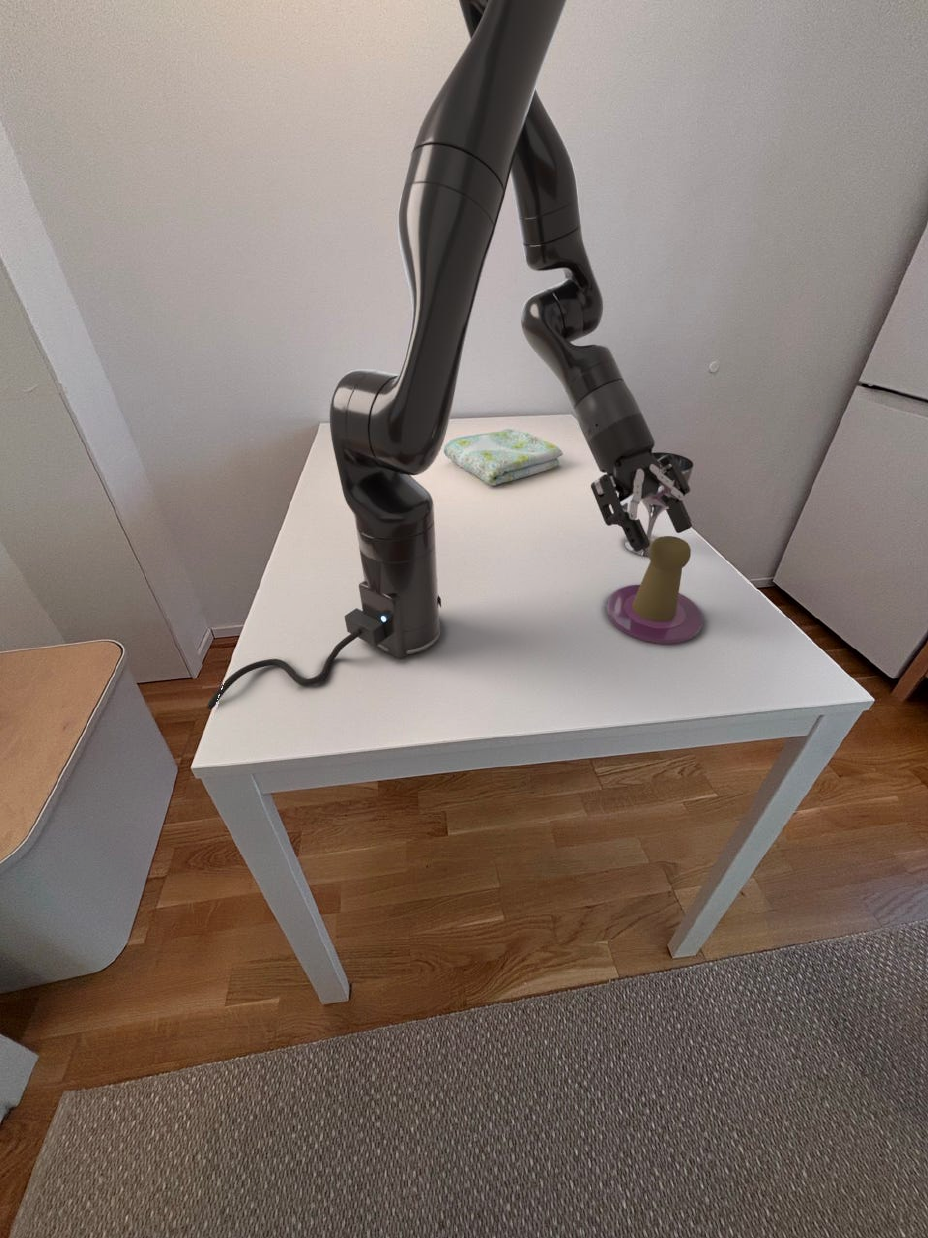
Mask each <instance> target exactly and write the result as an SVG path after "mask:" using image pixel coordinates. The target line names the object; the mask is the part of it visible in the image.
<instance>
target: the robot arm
mask: <svg viewBox="0 0 928 1238" xmlns="http://www.w3.org/2000/svg"><path fill="white" fill-rule="evenodd" d="M568 1H569V0H458V2H459V6H460V9H461V14H462V16H463V20H464V23H465V27H466V30H467V33H468V37H469V42H468V43H467V45H466V47H465V49H464V50H463V53H462V54H461V55H460V57H459V58H458V60H457V62H456V63H455V65H454V67H453V68H452V70H451V72H450V73H449V75H448V76H447V78H446V79H445V81H444V83H443V85H442V86H441V88H440V89H439V91H438V93H436V94H437V95H436V97H435V98H434V99H433V101H432V103H431V105H430V107H429V109H428V111H427V113H426V115H425V116H424V119H423V120H422V122H421V125H420V127H419V129H418V131H417V134H416V137H415V139H414V142H413V146H412V150H411V154H410V158H409V162H408V166H407V170H406V174H405V178H404V182H403V186H402V190H401V194H400V199H399V204H398V209H397V236H398V245H399V249H400V254H401V259H402V264H403V267H404V272H405V277H406V280H407V284H408V289H409V294H410V295H409V296H410V300H411V324H410V331H409V337H408V342H407V347H406V351H405V356H404V359H403V363H402V366H401V369H400V372H399V374H398V373H393V372H389V371H382V370H377V369H371V368H370V369H369V368H357V369H354V370H351V371H348V372H347V373H346V374H344V375H343V376H342V377H341V378H340V379H339V380H338V382H337V384H336V385H335V387H334V390H333V393H332V396H331V401H330V404H329V430H330V437H331V443H332V449H333V453H334V458H335V462H336V467H337V471H338V475H339V480H340V485H341V490H342V494H343V497H344V501H345V502H346V505H347V506H348V508H349V509H350V511H351V513H352V514H353V517H354V522H355V528H356V536H357V542H358V549H359V556H360V561H361V562H360V563H361V569H362V574H363V575H362V576H363V581H361V582H359V584H358V591H359V597H360V603H361V609H359V608H357V607H356V608H354V609H352V611H350V612H348V613H347V614H346V615H344V621H345V626H346V632H347V633H349V634H348V635H347V636H346V637H345V638H343V639H342V640H341V641H340V642H339V643H337V644H336V646H334V648H333V649H332V651H331V652H330V654H329V655H328V656H327V658H326V660H325V662H324V664H323V666H322V669H321V671H320V673H318V675H316V676H314V677H310V678H309V677H308V678H305V677H302V676H300V675H299V674H298V673H297V672H296V671H295V670H294V669H293V667H292V666H291V665H290V664H288V663H287V662H286V661H284V660H283V659H280V658H268V659H262V660H259V661H255V662H252V663H249V664H247V665H245V666H243V667H241V668H239V669H238V670H236V671H235V672H234V673H233V674H231V675H230V676H229V677H228V678H227V679H225V681H224V682H225V683H224V682H223V683H224V685H223V683H222V684H221V685H220V686H219V688H218V689H216V691H215V692H214V694H213V695H212V696H211V698H210V700H209V701H208V702H207V705H206V709H207V710H210V709H213V708H215V706H216V705H217V704H216V702H217V703H219V701H220V699H221V698H222V697H223V696H224V694H225V693H226V691H227V690H229V688H230V687H231V686H233V684H234V683H235V682H236V681H238V680H239V679H240V678H242V677H243V676H244V675H246V674H248V673H250V672H252V671H255V670H257V669H261V668H264V667H265V668H266V667H270V666H277V667H280V668H281V669H282V670H284V671H285V672H286V673H287V675H288V677H290V678H291V679H292V680H293V681H294V682H295V683H297V684H298V685H301V686H314V685H316V684H319V683H321V682H322V681H324V680H325V679H326V677H327V676H328V673H329V672H330V669H331V666H332V664H333V662H334V661H335V659H336V658H337V656H338V655H339V653H340V652H342V650H343V649H344V648H346V647H347V646H348V645H349V644H350V643H352V642H353V641H354V640H356V639H360V640H361V641H364V642H365V643H367V644H369V645H371V646H373V647H375V648H376V647H377V648H379V649H380V650H382V651H383V652H386V653H388V654H390V655H391V656H393V657H395V658H397V659H400V660H401V659H403V658H405V656H407V655H414V654H418V653H421V652H423V651H426V650H428V649H429V648H431V647H432V646H433V645H434V644H435V643H436V642H438V639H439V638H440V635H441V623H440V609H439V607H440V608H442V599H441V597H440V596H439V589H438V567H437V548H436V524H435V505H434V501H433V498H432V497H433V496H432V495H431V493H430V492H429V490H427V489H426V488H425V487H424V486H423V485H421V483H419V482H418V481H417V480H416V479H415V478H414V477H413V476H417V475H421V474H423V473H424V472H426V471H427V470H428V469H429V468H431V466H432V465H433V464H434V463H435V461H436V459H437V457H438V456H439V453H440V452H441V450H442V447H443V444H444V441H445V437H446V434H447V431H448V427H449V423H450V417H451V413H452V408H453V403H454V399H455V398H454V397H455V393H456V388H457V381H458V377H459V376H458V375H459V371H460V366H461V361H462V354H463V350H464V345H465V340H466V336H467V333H468V328H469V324H470V320H471V316H472V312H473V308H474V303H475V301H476V296H477V292H478V289H479V284H480V282H481V277H482V274H483V271H484V267H485V264H486V260H487V257H488V254H489V251H490V248H491V245H492V242H493V239H494V235H495V231H496V228H497V224H498V221H499V217H500V214H501V211H502V207H503V204H504V200H505V196H506V192H507V188H508V185H509V184H508V183H509V179H510V182H511V186H512V191H513V197H514V202H515V208H516V215H517V221H518V227H519V234H520V238H521V245H522V250H523V255H524V260H525V263H526V265H527V266H528V268H529V269H531V270H533V271H535V272H547V271H554V270H560V269H562V271H563V274H564V281H561V282H559V283H557V284H555V285H552V286H551V287H548V288H545V289H543V290H542V291H539V292H537V293H535V294H532V295H531V296H530V297H528V298H527V299H526V300H525V301H524V303H523V306H522V308H521V312H520V325H521V331H522V333H523V335H524V338H525V340H526V342H527V343H528V344H529V347H530V348H532V350H533V351H534V352H535V353H536V354H537V356H538V357H540V359H541V360H542V361H543V362H544V364H546V365H547V367H548V368H549V369H550V371H552V373H553V374H554V375H555V377H556V378H557V379H558V380H559V382H560V383H561V385H562V387H563V388H564V391H565V393H566V395H567V397H568V399H569V401H570V403H571V406H572V408H573V410H574V414H575V416H576V419H577V423H578V425H579V428H580V430H581V433H582V435H583V437H584V439H585V441H586V444H587V446H588V448H589V450H590V452H591V454H592V457H593V459H594V461H595V463H596V466H597V468H598V470H599V472H601V473H604V474H602V475H601V476H600V477H598V478H597V479H596V480H595V481H593V482H592V483H591V484H590V489H591V491H592V493H593V496H594V499H595V501H596V504H597V506H598V509H599V511H600V513H601V516H602V519H603V521H604V523H605V525H606V526H608V527H611V526H612V525H614V526H615V525H616V526H618V527H621V529H622V530H623V533H624V535H625V537H626V540H627V539H628V541H629V544H630V546H631V547H632V548H633V549H634V550H635V551H636V552H638V551H640V550H642V549H645V548H647V547H649V546H650V542H649V540H648V537H647V535H646V534H647V532H646V531H645V529H644V527H643V524H642V522H641V520H640V518H637V517H638V508H639V504H640V503H641V502H642V501H641V499H645V498H647V497H649V498H651V499H652V500H658V501H659V502H660V503H662V504H663V505H664V506H666V507H669V508H667V509H666V510H665V511H666V513H667V515H668V518H669V521H670V522H671V524H672V526H673V528H674V531H675V532H676V533H677V534H681V533H683V532H686V531H687V530H689V529H692V526H693V523H692V521H691V517H690V515H689V513H688V511H687V509H686V506H685V504H684V501H683V500H684V499H685V496H686V495H687V494H689V493H690V492H691V487H690V485H689V482H688V483H687V481H686V480H685V478H684V476H683V474H682V472H681V470H680V468H679V466H678V464H677V462H676V460H675V458H674V456H673V455H672V454H673V453H672V454H671V452H667V453H668V454H667V455H665V456H663V457H662V458H660V459H659V460H657V459H656V458H655V457H654V456H653V454H652V453H653V448H654V447H655V445H656V443H655V442H656V441H655V439H654V437H653V435H652V433H651V430H650V428H649V427H648V424H647V421H646V420H645V417H644V415H643V413H642V411H641V409H640V407H639V405H638V402H637V400H636V398H635V396H634V394H633V393H632V391H631V390H630V387H628V385H627V384H626V382H625V379H624V377H623V374H622V372H621V371H620V368H619V366H618V364H617V362H616V360H615V358H614V356H613V353H612V352H611V350H610V349H609V347H608V346H607V345H605V344H601V343H595V344H588V345H575V344H573V343H572V342H574V341H577V340H579V339H581V338H584V337H587V336H588V335H590V334H592V333H593V332H594V331H596V329H597V328H598V327H599V325H600V323H601V320H602V318H603V313H604V299H603V295H602V292H601V289H600V286H599V284H598V281H597V279H596V276H595V274H594V271H593V268H592V266H591V262H590V257H589V255H588V252H587V248H586V245H585V242H584V237H583V231H582V221H581V220H582V219H581V208H580V200H579V199H580V198H579V189H578V180H577V176H576V171H575V165H574V163H573V160H572V155H571V154H570V151H569V149H568V146H567V145H566V142H565V140H564V138H563V136H562V135H561V132H560V130H559V129H558V127H557V125H556V124H555V122H554V120H553V118H552V116H551V114H550V113H549V110H547V107H546V106H545V104H544V102H543V100H542V98H541V96H540V95H539V92H538V89H537V84H538V80H539V78H540V75H541V73H542V70H543V68H544V64H545V62H546V59H547V56H548V54H549V51H550V48H551V46H552V43H553V40H554V38H555V35H556V33H557V30H558V27H559V25H560V22H561V20H562V16H563V14H564V11H565V9H566V6H567V3H568ZM673 480H676V481H677V483H678V485H679V487H680V488H678V489H676V488H675V486H674V483H673ZM660 484H661V485H662V486H660V487H659V485H660ZM665 494H669V495H670V496H669V497H668V496H666V495H665ZM610 507H611V508H610ZM222 686H223V689H222V690H221V688H222ZM219 694H220V696H219V698H218V695H219ZM217 699H218V700H217Z"/></svg>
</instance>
